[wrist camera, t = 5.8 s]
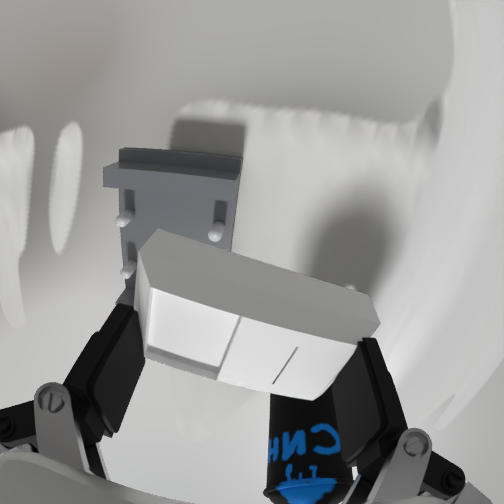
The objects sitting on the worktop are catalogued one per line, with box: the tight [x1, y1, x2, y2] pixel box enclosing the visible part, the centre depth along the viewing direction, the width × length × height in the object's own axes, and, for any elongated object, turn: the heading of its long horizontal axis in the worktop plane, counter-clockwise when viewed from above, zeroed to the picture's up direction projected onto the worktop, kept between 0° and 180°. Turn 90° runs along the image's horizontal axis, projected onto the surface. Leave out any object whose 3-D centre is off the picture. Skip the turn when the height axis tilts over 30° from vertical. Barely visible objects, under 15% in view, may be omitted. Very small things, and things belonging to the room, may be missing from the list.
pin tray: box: [103, 148, 243, 307], centre depth 23 cm, size 16×10×4 cm, turn 172°
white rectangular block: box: [134, 229, 380, 401], centre depth 11 cm, size 5×9×3 cm, turn 72°
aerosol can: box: [263, 383, 354, 504], centre depth 22 cm, size 8×8×20 cm
